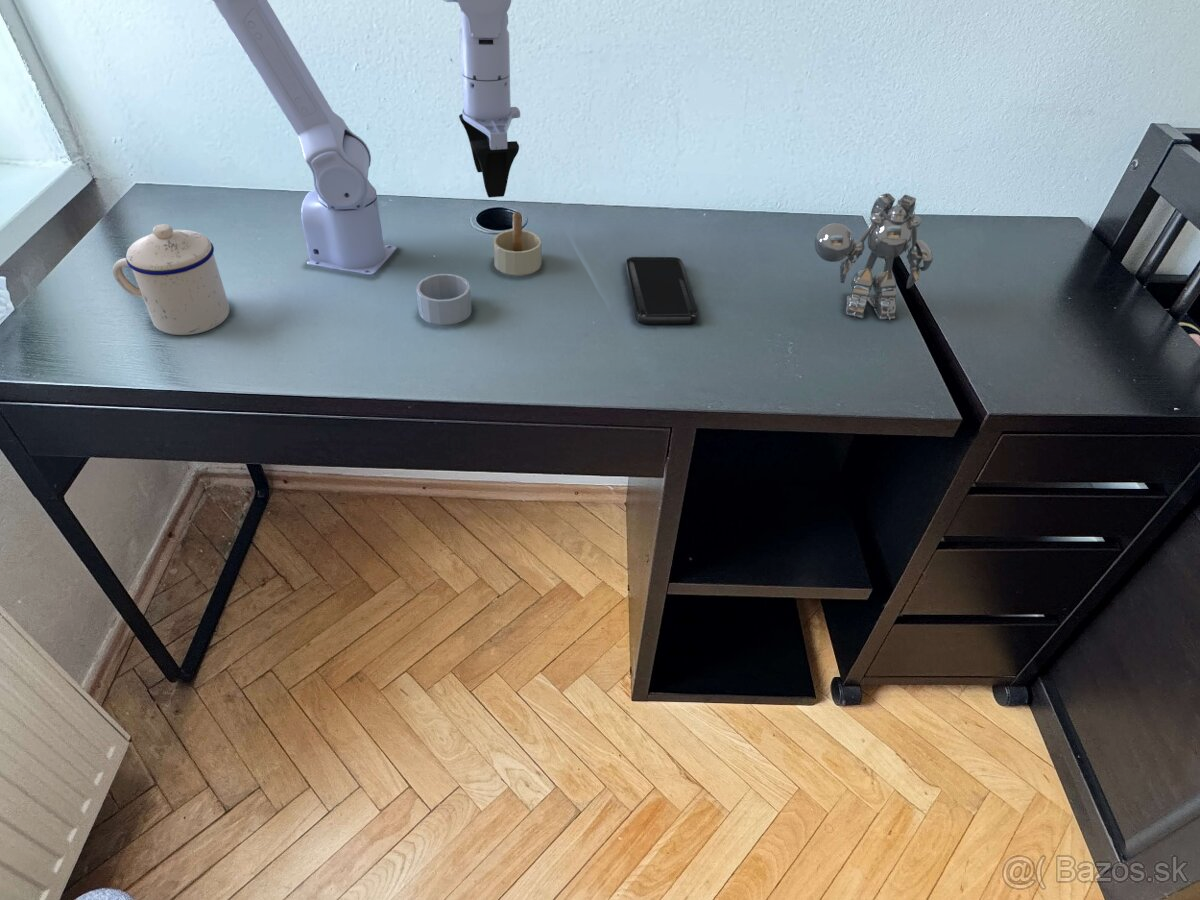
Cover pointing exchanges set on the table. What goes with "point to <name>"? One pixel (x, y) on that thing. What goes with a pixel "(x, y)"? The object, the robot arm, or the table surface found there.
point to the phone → (660, 291)
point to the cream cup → (517, 253)
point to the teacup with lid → (176, 280)
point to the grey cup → (444, 299)
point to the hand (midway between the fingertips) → (490, 183)
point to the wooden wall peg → (517, 231)
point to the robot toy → (877, 253)
